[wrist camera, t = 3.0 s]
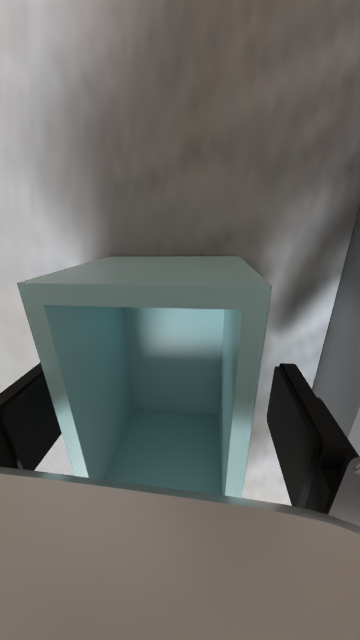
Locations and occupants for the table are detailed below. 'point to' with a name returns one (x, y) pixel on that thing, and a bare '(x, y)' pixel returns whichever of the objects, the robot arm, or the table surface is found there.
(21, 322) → the table surface
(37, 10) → the table surface
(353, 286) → the big crate
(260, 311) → the small crate
